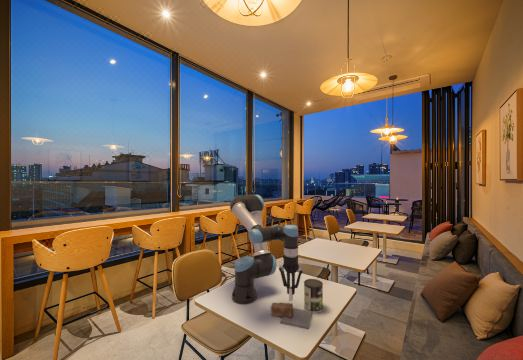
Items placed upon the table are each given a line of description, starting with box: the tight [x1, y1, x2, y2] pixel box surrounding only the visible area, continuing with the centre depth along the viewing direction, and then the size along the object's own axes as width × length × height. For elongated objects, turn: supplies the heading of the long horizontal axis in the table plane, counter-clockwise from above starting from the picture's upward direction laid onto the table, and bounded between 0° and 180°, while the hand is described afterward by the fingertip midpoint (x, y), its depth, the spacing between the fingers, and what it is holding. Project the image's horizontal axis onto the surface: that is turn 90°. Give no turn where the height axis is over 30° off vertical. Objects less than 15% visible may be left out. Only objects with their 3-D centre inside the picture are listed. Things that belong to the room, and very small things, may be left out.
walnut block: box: [270, 302, 294, 317], centre depth 122 cm, size 4×4×11 cm
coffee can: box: [303, 278, 324, 314], centre depth 129 cm, size 10×10×14 cm
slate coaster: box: [279, 307, 313, 330], centre depth 120 cm, size 14×14×1 cm
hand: (290, 300), depth 121 cm, fingers closed
